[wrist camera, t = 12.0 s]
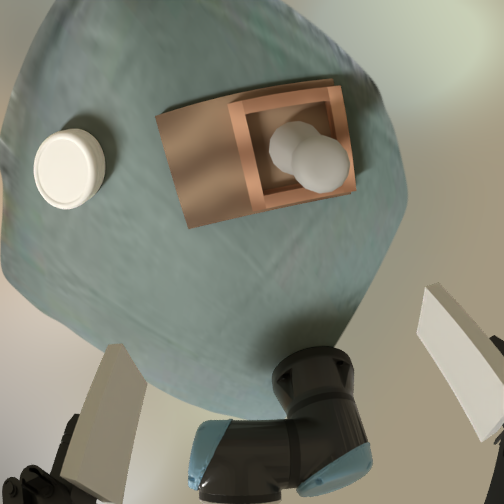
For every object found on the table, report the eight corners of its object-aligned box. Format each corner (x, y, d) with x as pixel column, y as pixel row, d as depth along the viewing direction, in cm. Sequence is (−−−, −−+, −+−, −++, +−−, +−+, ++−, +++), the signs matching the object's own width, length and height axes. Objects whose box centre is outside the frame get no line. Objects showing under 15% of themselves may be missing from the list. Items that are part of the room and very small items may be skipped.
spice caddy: (346, 190, 35) (357, 198, 32) (190, 224, 36) (186, 235, 33) (328, 79, 29) (338, 76, 26) (158, 115, 30) (150, 116, 27)
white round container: (93, 115, 29) (80, 117, 26) (117, 187, 34) (106, 195, 30) (38, 147, 30) (23, 151, 27) (61, 211, 34) (48, 220, 31)
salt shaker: (324, 131, 30) (375, 145, 19) (308, 177, 33) (346, 216, 21) (275, 113, 29) (300, 114, 18) (259, 161, 32) (273, 192, 20)
